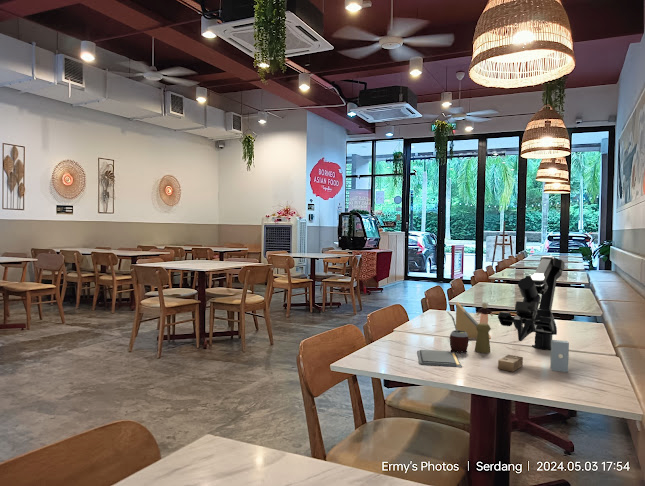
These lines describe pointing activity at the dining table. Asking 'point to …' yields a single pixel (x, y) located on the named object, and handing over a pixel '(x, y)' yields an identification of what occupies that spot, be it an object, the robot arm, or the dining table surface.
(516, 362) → the brown rectangular box
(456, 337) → the mate gourd
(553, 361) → the grey rectangular block
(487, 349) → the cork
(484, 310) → the grandmother figurine
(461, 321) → the sandwich container
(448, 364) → the grey notebook
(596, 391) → the dining table surface
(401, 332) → the dining table surface
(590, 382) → the dining table surface
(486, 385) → the dining table surface
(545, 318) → the robot arm
